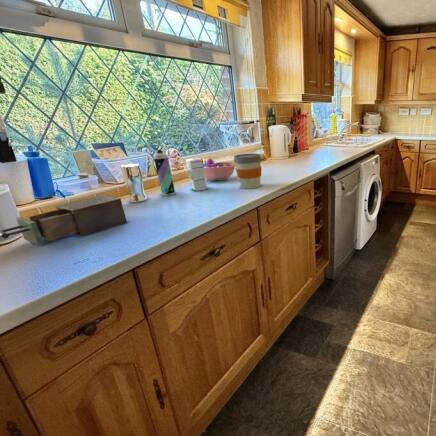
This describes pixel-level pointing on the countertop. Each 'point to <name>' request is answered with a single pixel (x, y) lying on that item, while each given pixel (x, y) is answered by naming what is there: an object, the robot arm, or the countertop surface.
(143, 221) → the countertop surface
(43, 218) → the block
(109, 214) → the cabinet
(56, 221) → the drawer
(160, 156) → the spray can
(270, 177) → the countertop surface
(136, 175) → the beer glass
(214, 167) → the cell model
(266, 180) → the countertop surface
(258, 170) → the reusable coffee cup
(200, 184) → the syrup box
